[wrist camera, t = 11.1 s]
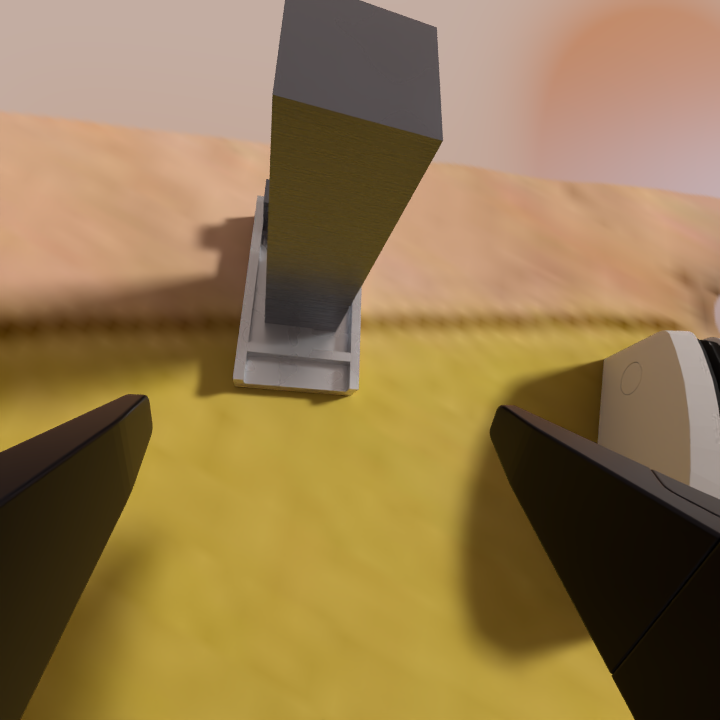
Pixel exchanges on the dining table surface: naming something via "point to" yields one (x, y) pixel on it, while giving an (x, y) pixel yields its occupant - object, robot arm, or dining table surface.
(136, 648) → the dining table surface
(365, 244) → the block
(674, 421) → the white slotted device
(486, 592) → the dining table surface
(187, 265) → the dining table surface
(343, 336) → the grey rectangular piece
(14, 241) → the dining table surface
